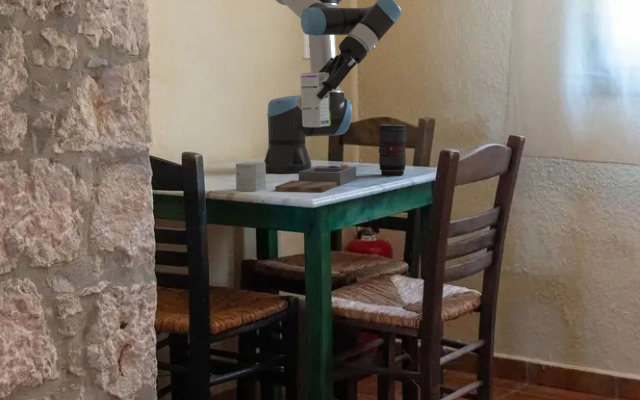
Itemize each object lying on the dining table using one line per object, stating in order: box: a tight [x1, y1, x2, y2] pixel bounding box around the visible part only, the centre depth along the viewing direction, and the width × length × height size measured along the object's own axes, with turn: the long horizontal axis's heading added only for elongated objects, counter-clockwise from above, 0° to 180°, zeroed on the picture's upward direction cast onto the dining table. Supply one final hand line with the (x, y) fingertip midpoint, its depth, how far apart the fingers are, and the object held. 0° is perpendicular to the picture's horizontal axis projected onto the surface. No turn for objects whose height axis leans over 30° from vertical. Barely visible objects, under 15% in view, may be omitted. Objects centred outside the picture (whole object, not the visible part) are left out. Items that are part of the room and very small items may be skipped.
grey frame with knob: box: [298, 164, 357, 187], centre depth 267 cm, size 12×16×4 cm
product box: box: [235, 161, 267, 192], centre depth 251 cm, size 6×6×7 cm
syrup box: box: [300, 72, 331, 127], centre depth 252 cm, size 6×6×14 cm
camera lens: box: [378, 124, 407, 177], centre depth 280 cm, size 8×8×15 cm
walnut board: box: [274, 180, 338, 193], centre depth 252 cm, size 13×13×1 cm
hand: (303, 106), depth 251 cm, fingers closed on syrup box, 8 cm apart
